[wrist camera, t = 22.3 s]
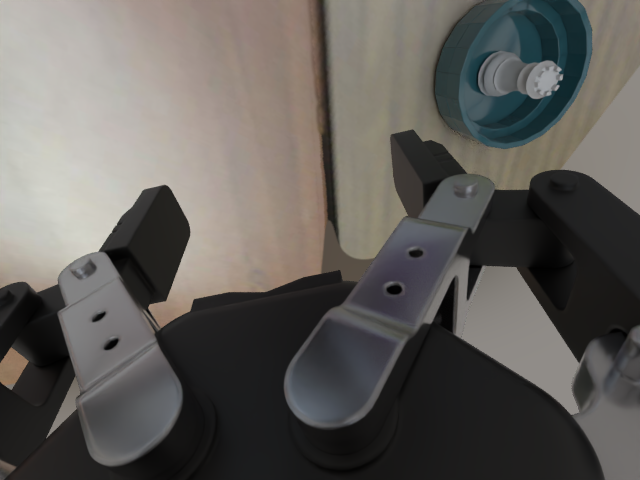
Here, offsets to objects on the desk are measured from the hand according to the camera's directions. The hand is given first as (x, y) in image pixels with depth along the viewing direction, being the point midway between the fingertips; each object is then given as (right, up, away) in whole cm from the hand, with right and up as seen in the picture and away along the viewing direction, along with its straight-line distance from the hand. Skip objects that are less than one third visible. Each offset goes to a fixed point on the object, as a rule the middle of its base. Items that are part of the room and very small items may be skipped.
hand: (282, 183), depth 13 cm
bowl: (+20, +17, +27) cm, 37 cm away
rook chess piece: (+20, +16, +26) cm, 37 cm away
